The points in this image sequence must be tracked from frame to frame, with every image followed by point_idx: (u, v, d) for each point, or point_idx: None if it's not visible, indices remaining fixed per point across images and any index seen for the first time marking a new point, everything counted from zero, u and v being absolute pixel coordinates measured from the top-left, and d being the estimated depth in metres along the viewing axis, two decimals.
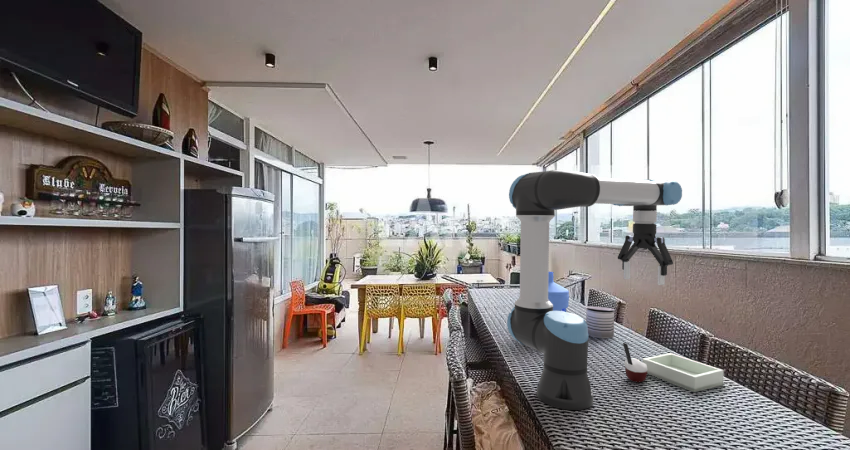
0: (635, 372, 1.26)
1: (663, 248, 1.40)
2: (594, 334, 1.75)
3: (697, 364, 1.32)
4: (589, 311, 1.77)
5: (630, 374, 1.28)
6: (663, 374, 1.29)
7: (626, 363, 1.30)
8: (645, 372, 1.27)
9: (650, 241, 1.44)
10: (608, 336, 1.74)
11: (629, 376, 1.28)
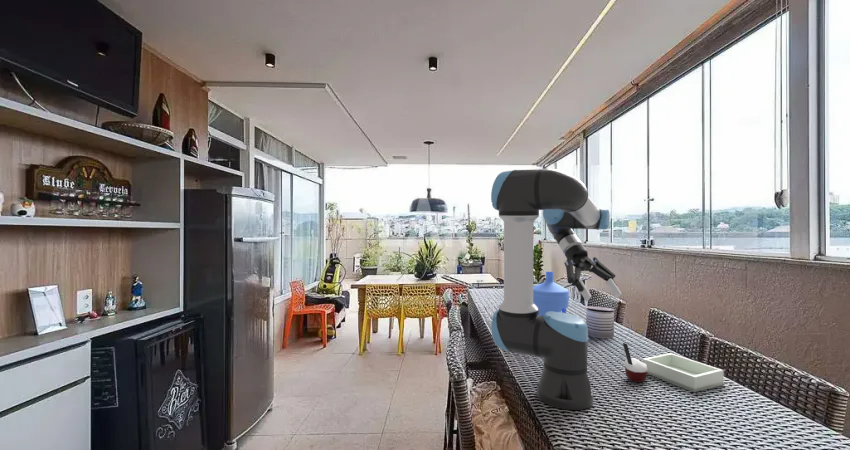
0: (635, 372, 1.26)
1: None
2: (594, 334, 1.75)
3: (697, 364, 1.32)
4: (589, 311, 1.77)
5: (630, 374, 1.28)
6: (663, 374, 1.29)
7: (626, 363, 1.30)
8: (645, 372, 1.27)
9: (590, 261, 1.51)
10: (608, 336, 1.74)
11: (629, 376, 1.28)
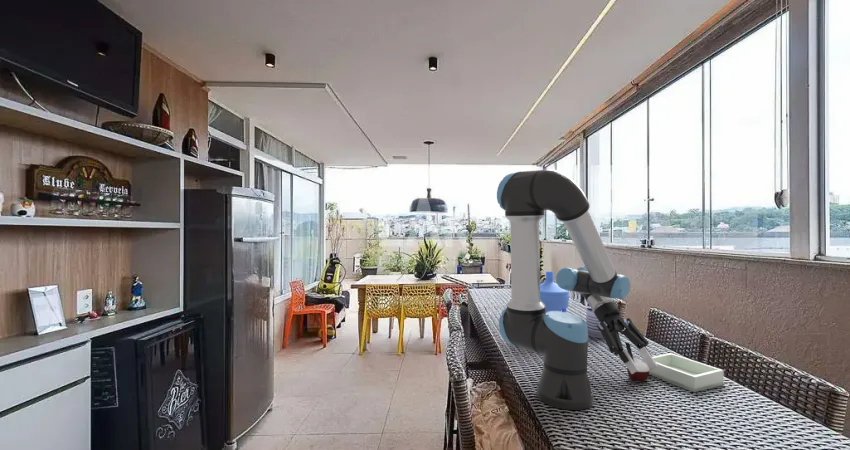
0: (638, 371, 1.27)
1: None
2: (594, 334, 1.75)
3: (697, 364, 1.32)
4: (589, 311, 1.77)
5: (632, 374, 1.28)
6: (663, 374, 1.29)
7: None
8: (647, 372, 1.27)
9: (622, 320, 1.37)
10: None
11: (631, 376, 1.28)
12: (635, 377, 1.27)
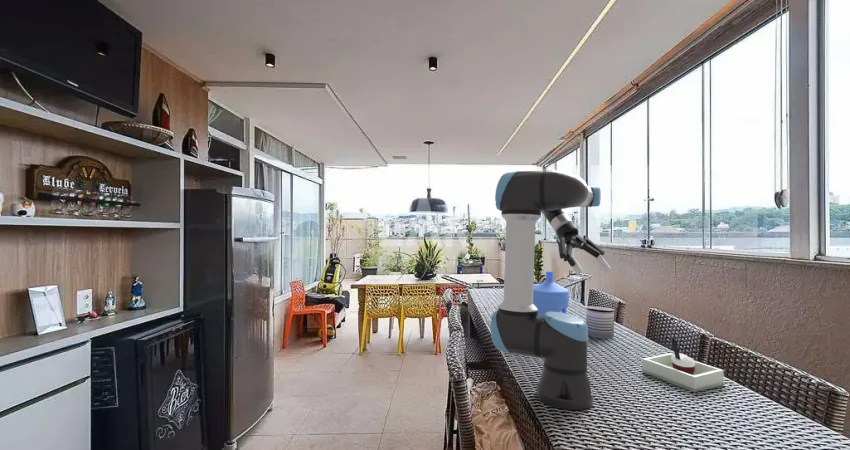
0: (684, 367, 1.28)
1: None
2: (594, 334, 1.75)
3: (697, 364, 1.32)
4: (589, 311, 1.77)
5: (678, 369, 1.29)
6: (663, 374, 1.29)
7: (673, 358, 1.32)
8: (693, 367, 1.29)
9: (581, 238, 1.56)
10: (608, 336, 1.74)
11: None
12: None
